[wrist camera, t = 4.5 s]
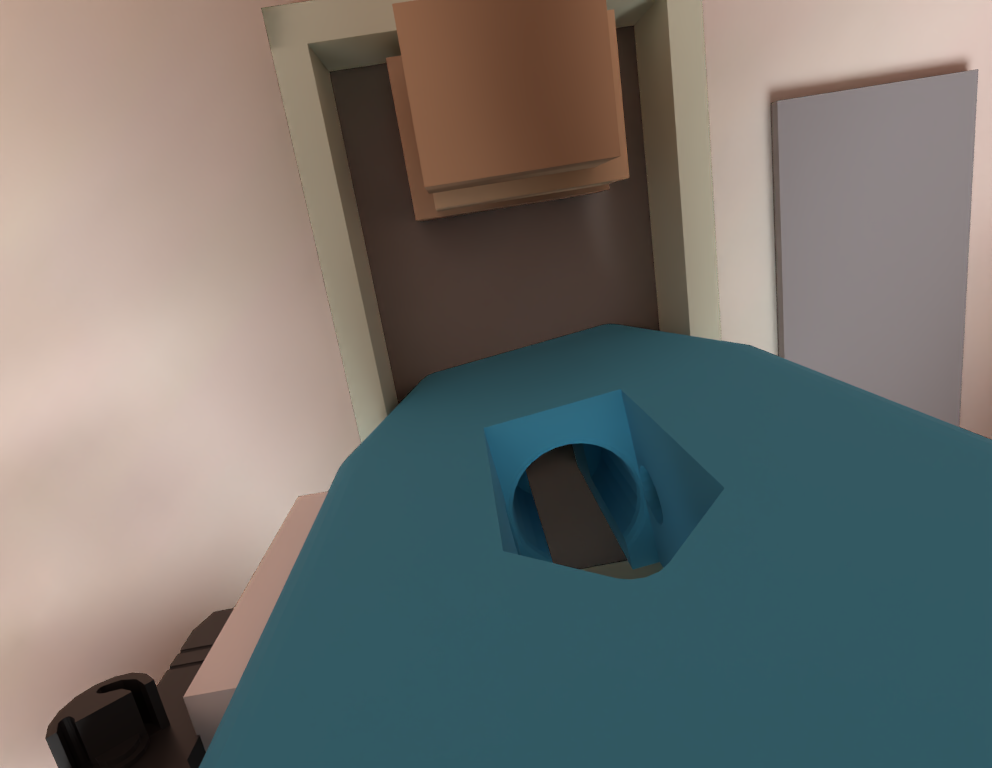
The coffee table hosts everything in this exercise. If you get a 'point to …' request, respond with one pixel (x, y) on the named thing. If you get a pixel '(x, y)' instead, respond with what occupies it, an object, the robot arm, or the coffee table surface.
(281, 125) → the coffee table surface
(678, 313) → the frame
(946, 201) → the felt mat
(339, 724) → the block
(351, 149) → the coffee table surface
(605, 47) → the offcut stack
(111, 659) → the coffee table surface
